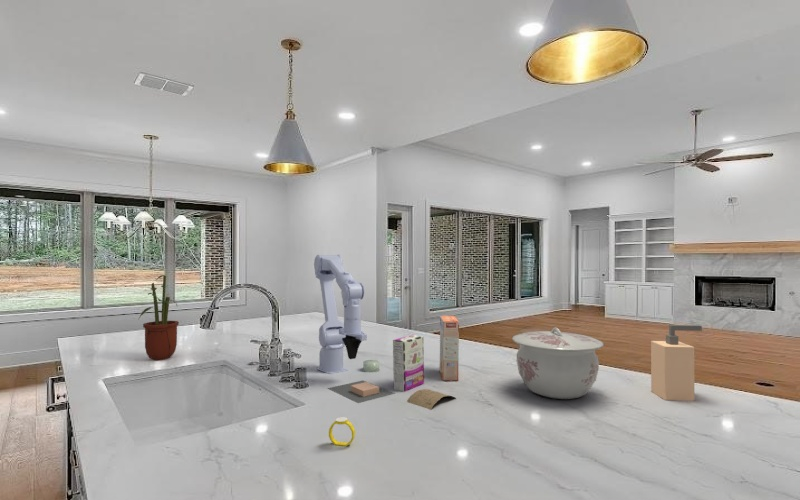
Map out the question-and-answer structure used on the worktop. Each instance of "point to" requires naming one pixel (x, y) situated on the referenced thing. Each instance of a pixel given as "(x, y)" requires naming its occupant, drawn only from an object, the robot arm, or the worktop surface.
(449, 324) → the cracker box
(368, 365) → the pale green dome
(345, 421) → the watch
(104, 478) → the worktop surface
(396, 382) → the candy bar box
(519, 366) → the chamber pot
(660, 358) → the soap dispenser
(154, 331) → the potted plant
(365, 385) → the tile
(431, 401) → the clay tablet
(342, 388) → the mat
